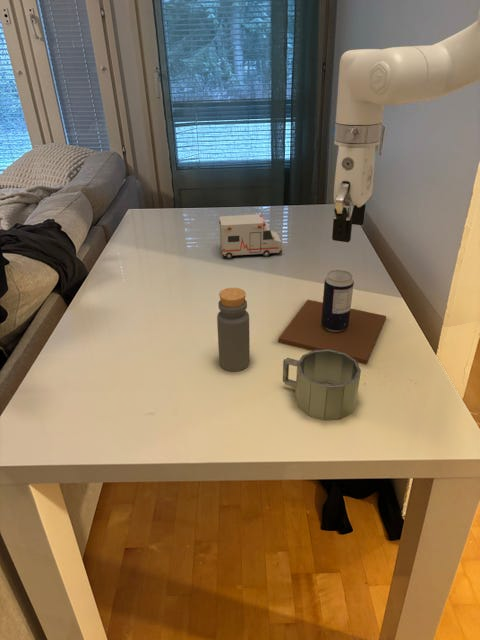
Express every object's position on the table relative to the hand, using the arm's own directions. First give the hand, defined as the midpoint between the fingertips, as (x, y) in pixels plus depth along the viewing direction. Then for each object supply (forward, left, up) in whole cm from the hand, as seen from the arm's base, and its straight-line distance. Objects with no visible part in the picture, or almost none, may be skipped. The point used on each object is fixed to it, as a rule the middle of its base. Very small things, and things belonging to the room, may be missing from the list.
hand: (348, 232), depth 87 cm
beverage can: (+1, 0, -21) cm, 21 cm away
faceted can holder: (-3, +22, -22) cm, 31 cm away
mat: (+1, 0, -22) cm, 22 cm away
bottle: (+15, +19, -22) cm, 33 cm away
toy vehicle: (+35, -31, -22) cm, 52 cm away
